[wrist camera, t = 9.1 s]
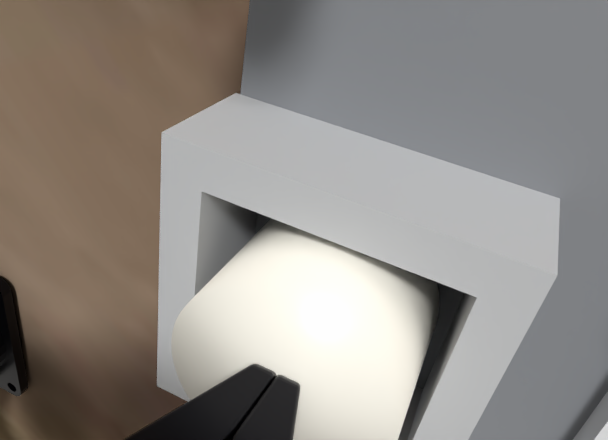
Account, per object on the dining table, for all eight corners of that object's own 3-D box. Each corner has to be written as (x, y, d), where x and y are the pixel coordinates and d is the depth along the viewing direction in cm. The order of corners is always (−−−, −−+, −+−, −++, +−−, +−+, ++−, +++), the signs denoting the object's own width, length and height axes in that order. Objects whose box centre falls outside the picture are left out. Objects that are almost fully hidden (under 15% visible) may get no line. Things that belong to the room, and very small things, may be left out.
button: (408, 392, 12) (365, 517, 9) (244, 320, 13) (168, 415, 10) (468, 244, 9) (434, 356, 7) (266, 170, 10) (175, 247, 8)
